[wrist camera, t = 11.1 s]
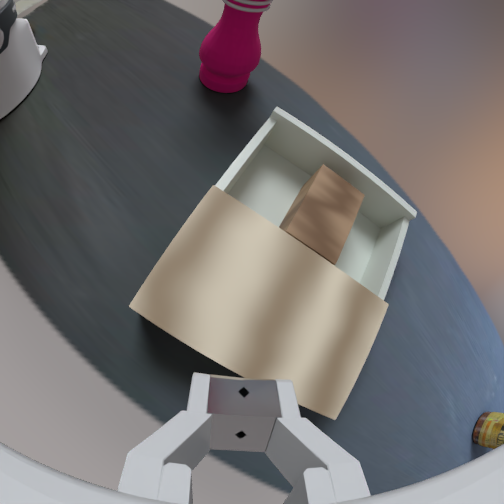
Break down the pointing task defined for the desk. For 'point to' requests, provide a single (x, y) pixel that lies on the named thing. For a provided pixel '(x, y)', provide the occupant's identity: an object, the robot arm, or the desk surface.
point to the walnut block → (323, 213)
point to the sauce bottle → (489, 430)
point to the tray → (299, 172)
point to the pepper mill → (232, 46)
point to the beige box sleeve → (262, 303)
